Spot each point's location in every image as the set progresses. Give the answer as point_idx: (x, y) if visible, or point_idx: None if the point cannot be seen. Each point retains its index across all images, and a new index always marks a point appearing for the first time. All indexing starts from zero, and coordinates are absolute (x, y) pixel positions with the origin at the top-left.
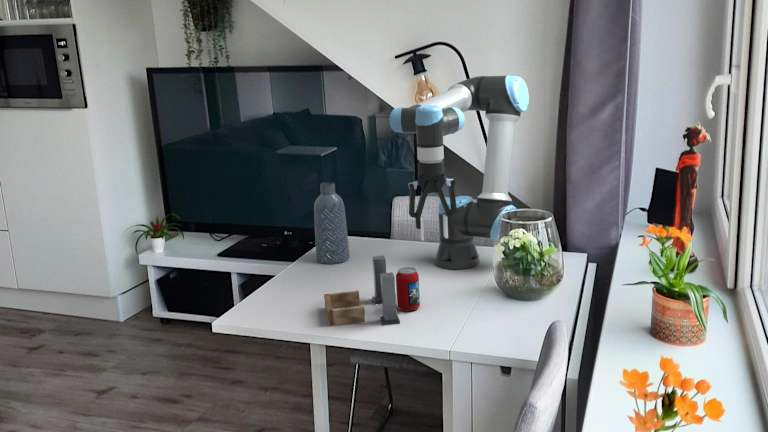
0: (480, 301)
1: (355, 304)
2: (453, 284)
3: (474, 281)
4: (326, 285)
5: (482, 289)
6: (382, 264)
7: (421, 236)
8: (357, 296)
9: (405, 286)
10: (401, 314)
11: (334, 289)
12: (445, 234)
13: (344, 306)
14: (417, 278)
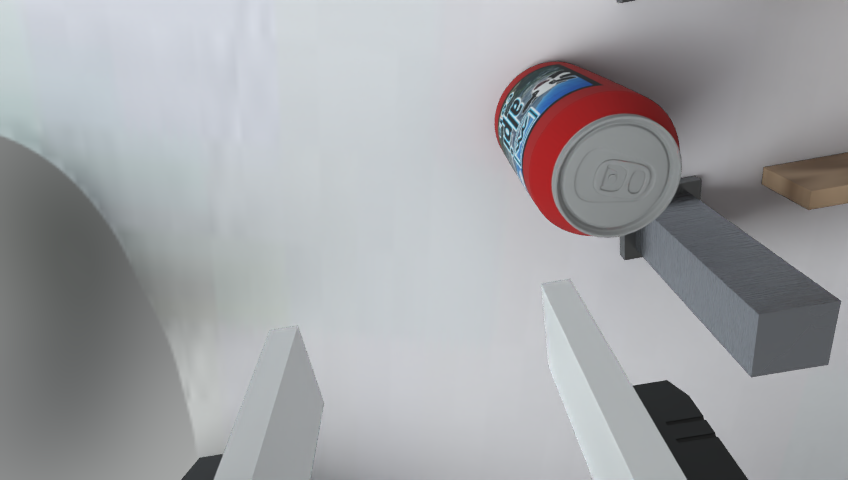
0: (201, 167)
1: (789, 166)
2: (333, 365)
3: (246, 388)
4: (838, 394)
5: (204, 304)
6: (758, 290)
7: (584, 306)
8: (804, 182)
9: (610, 83)
10: (590, 36)
11: None
12: (290, 355)
13: (839, 155)
14: (537, 132)
